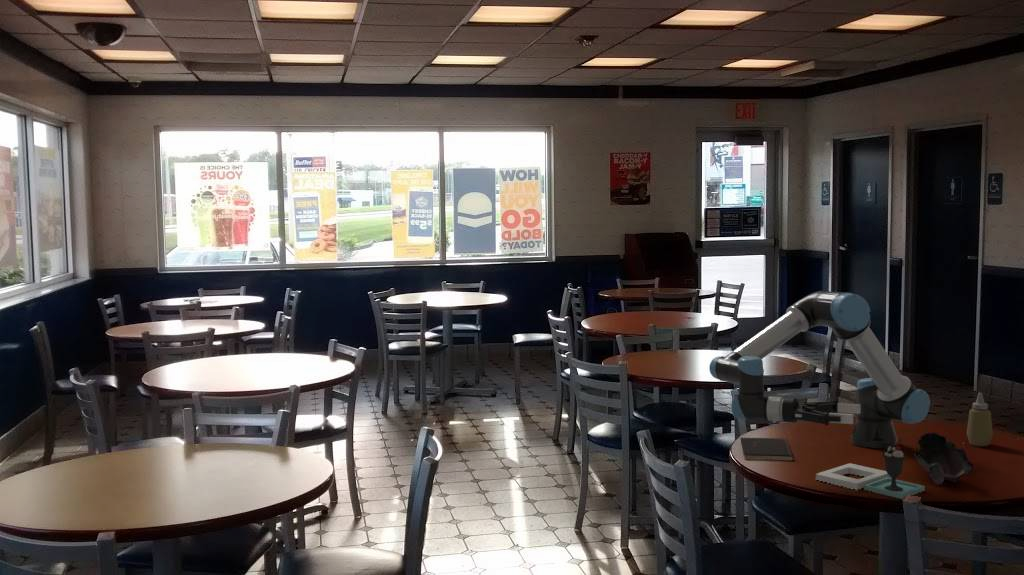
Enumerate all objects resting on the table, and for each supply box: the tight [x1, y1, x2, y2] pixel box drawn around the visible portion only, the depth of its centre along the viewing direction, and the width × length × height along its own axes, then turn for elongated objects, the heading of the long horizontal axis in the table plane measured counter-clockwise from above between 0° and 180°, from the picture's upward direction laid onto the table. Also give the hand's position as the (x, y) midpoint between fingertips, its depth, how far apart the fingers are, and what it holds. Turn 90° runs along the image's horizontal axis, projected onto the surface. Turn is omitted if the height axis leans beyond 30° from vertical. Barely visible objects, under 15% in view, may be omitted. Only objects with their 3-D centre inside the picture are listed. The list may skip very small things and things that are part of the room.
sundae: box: [881, 438, 907, 491], centre depth 274 cm, size 7×7×15 cm
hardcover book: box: [739, 437, 795, 461], centre depth 323 cm, size 16×23×2 cm
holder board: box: [815, 462, 892, 491], centre depth 287 cm, size 18×14×2 cm
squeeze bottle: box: [966, 392, 994, 447], centre depth 324 cm, size 8×8×18 cm
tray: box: [863, 477, 926, 500], centre depth 276 cm, size 12×12×1 cm
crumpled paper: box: [913, 431, 974, 485], centre depth 285 cm, size 14×15×20 cm
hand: (856, 414), depth 278 cm, fingers open, 13 cm apart
